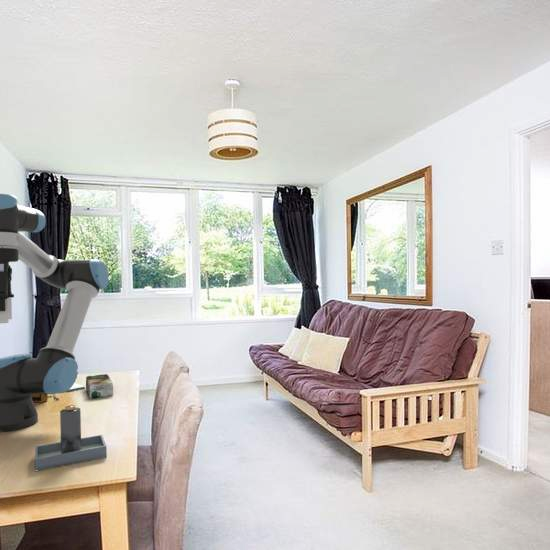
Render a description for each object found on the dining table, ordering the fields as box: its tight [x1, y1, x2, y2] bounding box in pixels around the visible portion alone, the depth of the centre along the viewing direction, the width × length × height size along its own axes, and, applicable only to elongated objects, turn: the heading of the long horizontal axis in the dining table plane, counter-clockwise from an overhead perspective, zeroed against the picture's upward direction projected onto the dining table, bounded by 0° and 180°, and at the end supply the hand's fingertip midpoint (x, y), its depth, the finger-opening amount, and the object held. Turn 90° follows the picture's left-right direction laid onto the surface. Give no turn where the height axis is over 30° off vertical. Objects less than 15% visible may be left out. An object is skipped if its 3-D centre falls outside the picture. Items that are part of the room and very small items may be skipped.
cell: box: [59, 404, 82, 454], centre depth 119 cm, size 5×5×13 cm
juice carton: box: [85, 373, 114, 399], centre depth 188 cm, size 20×10×6 cm, turn 28°
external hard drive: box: [65, 382, 86, 393], centre depth 196 cm, size 2×8×12 cm
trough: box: [34, 434, 108, 471], centre depth 119 cm, size 10×17×3 cm, turn 118°
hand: (4, 321), depth 127 cm, fingers open, 13 cm apart
